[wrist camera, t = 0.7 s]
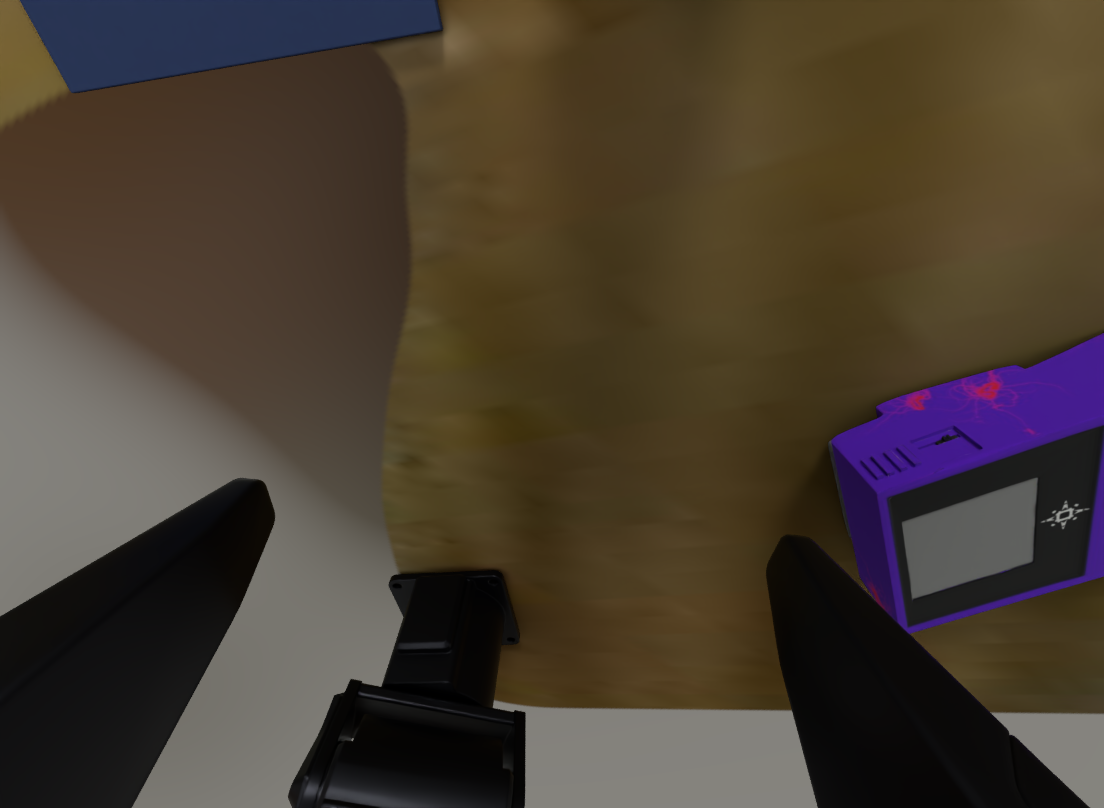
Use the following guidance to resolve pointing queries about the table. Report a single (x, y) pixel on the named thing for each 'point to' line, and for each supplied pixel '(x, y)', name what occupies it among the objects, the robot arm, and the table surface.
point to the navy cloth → (208, 33)
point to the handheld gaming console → (979, 489)
